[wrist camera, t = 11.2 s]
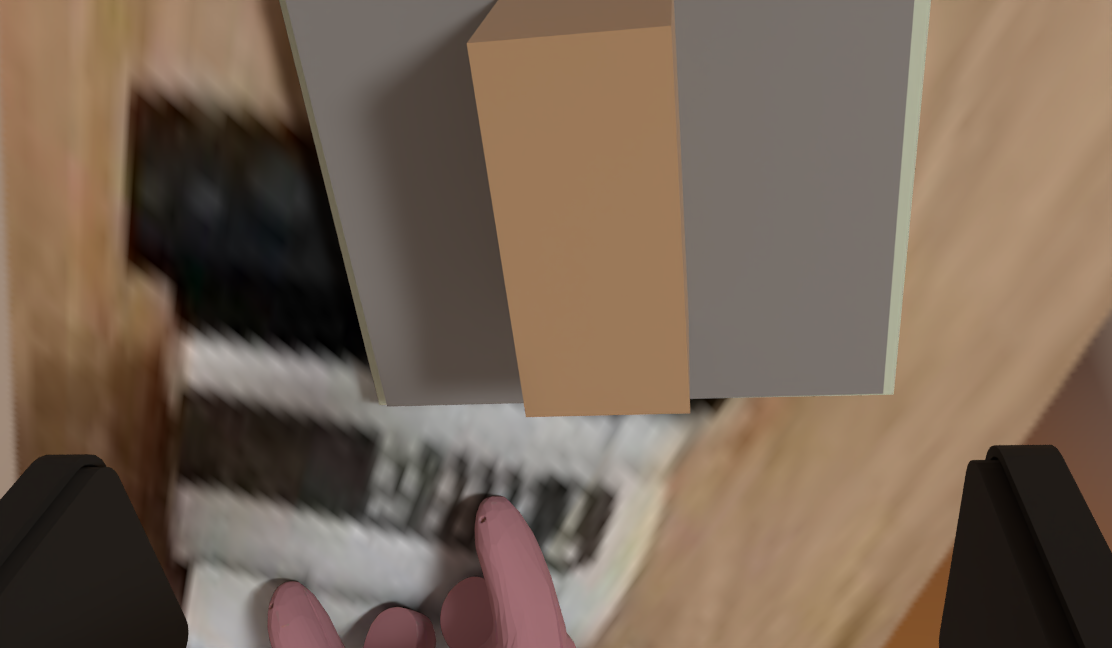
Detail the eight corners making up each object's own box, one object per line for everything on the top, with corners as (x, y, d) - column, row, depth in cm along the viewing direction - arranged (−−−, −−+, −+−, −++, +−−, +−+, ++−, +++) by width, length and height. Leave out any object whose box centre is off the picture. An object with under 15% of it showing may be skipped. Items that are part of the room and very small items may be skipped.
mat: (251, -143, 20) (243, -142, 20) (946, -223, 18) (952, -222, 17) (383, 396, 27) (379, 405, 27) (890, 385, 25) (893, 394, 25)
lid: (271, -119, 20) (164, -84, 16) (919, -195, 18) (992, -178, 14) (394, 389, 26) (342, 506, 22) (877, 375, 24) (917, 501, 20)
